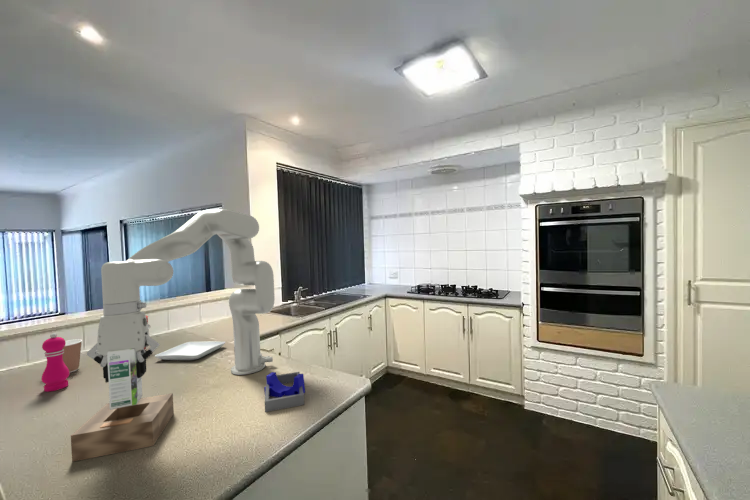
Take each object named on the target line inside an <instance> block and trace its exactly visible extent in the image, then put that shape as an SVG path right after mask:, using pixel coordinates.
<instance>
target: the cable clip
mask: <svg viewBox="0 0 750 500" xmlns="http://www.w3.org/2000/svg"><path fill="white" fill-rule="evenodd" d="M276 375H277V372H273V371H271V372H270V373H268V374H267V375H265V376H266V377H265V378H266V379H267V384H269V392H270V397H273V398H279V397H285V396H291V395H296V394H299V388H300V387H301V386H302V388H303V393H304V394H305V393H306V388H305V376H304V373H300V374H298V375H297V376H296V377H294V382H292V383H293V384H292V385H291V386H288V385H287V386H286V384H282V383H281V382H280V381H279V380H278V378H277V376H276ZM263 388H264V390H263V391H264V392H265V390H266V385H265V386H264V387H263Z"/></svg>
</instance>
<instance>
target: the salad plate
mask: <svg viewBox="0 0 750 500" xmlns="http://www.w3.org/2000/svg"><path fill="white" fill-rule="evenodd" d="M225 344H226V341H218V340H217V341H215V340H213V341H212V340H211V341H207V340H206V341H187V342H186V341H185V342H184V343H181V344H178V345H176V346H174V347H171V348H169V349H167V350H165V351H161V352H160V353H157V354H155V355H154V357H155V358H156V359H158V360H159V359H160V360H165V361H166V360H167V361H194V360H199V359H200V358H203V357H205V356H206V355H208V354H211V353H213V352H214V351H216V350H218V349H220V348H221V347H223V346H224V345H225Z"/></svg>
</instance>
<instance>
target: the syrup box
mask: <svg viewBox="0 0 750 500" xmlns="http://www.w3.org/2000/svg"><path fill="white" fill-rule="evenodd" d="M137 362H138V359H137V357H136V352H135V349H125V350H115V351H108V353H107V363H108V379H109V382H108V391H109V392H108V393H109V395H108V396H109V397H108V398H109V401H108V403H109V407H110V410H113V409H116V408H121V407H127V406H132V405H137V403H138V402H139V400H140V399H141V398H143V380H142V379H143V378H142V377H143V376H142V377H141V378H137V369H136V363H137Z"/></svg>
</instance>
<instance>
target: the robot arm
mask: <svg viewBox="0 0 750 500" xmlns="http://www.w3.org/2000/svg"><path fill="white" fill-rule="evenodd" d="M259 231H260V224H259V221H258V220H257V219H256V218H255V217H254V216H252V215H251V214H247V213H244V212H239V211H235V210H231V209H226V208H217V209H207V210H202V211H199V212H198V213H196V214H195V215H194V216H192V217H191V218H190V219H189V220H187V221H186V222H185V223H183V225H180V227H179V228H177V229H176V230H174V231H173V232H172V233H169V234H167V235H166V236H164V237H161V238H160V239H157V240H156V241H154V242H152V243H149V244H148V245H146V246H144V247H142V248H141V249H140V250H138V251H136V252H135V253H134V254H132V255H131V256H130V257H129V258H128V259H126V260H122V261H108V262H104V263H103V264H102V266H101V268H100V269H101V271H100V272H101V291H102V310H103V315H101V316H100V318H99V324H98V329H97V341H96V343H95V344H94V345H93V346H92V347H91V348H90V349H89V350H88V351H87V352H86V356H88V357H89V358H90V359H92V360H94V362H96V363H97V364H98V365H100V367H101V368H102V373H103V376H102V377H103V379H104V382H105V383H106V384H107V383H109V379H108V363H107V353H108V351H115V350H125V349H135V352H136V357H137V359H138V362H137V363H136V369H137V378H141V377H143V376H144V375H145V374H146V373H147V359H148V358H149V357H150V356H151V355H152V354H153V353H154V352H155V350H156V349H158V348H159V346H160V343H159V342H158V341H156V340H155V339H154V338H153V337H151V336H150V330H149V329H150V328H149V329H148V324H149V322H148V323H147V319H146V316H147V315H146V312H145V311H144V310H143V311H142V309H146V308H147V302H142V300H141V295H140V293H141V291H140V287H158V286H162V285H165V284H167V283H168V282H169V281H171V279H172V278H173V276H174V268H173V266H172V265H171V263H169V262H171V261H174V260H177V259H181V258H184V257H187V256H190V255H193V254H194V253H196V252H197V251H198V250H199V249H201V247H202V246H203V245H204V244H205V243H207V241H209V240H210V239H211V238H212V237H213V236H215V235H216V236H218V237H219V238H220V239H221V240H222V241H223V242H225V244H226V245H227V246H228V248H229V251H230V252H229V253H230V259H231V261H230V263H231V277H232V281H233V283H234V284H235V285H237V286H254V287H255V288H239V289H236V290H234V291H233V292H232V293H231V294H230V296H229V298H228V306H229V310H230V314H231V319H232V328H233V334H232V335H233V346H234V347H233V348H234V349H233V350H234V365H233V366H232V367H230V373H231V374H233V375H239V376H243V375H250V374H254V373H257V372H260V371H262V370H263V369H265V367H266V363H273V360H274V359H273V358H274V357H273V356H270V355H266V356H264V355H263V353H261V339H260V338H261V337H260V336H261V335H260V321H259V318H258V316H257V315H259V314H263V315H264V314H268V313H271V311H272V310H273V308H274V306H275V299H276V298H275V279H274V277H275V276H274V270H273V268H272V266H271V264H270V263H269V262H267V261H264V260H256V257H255V251H254V250H255V249H254V246H253V244H252V242H251V241H250V239H253V238H255V237H256V236H257V235H258V233H259ZM148 346H149V347H150V348H148V349H147V350H146V349H145V350H144V348H145V347H146V348H147V347H148Z"/></svg>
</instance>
